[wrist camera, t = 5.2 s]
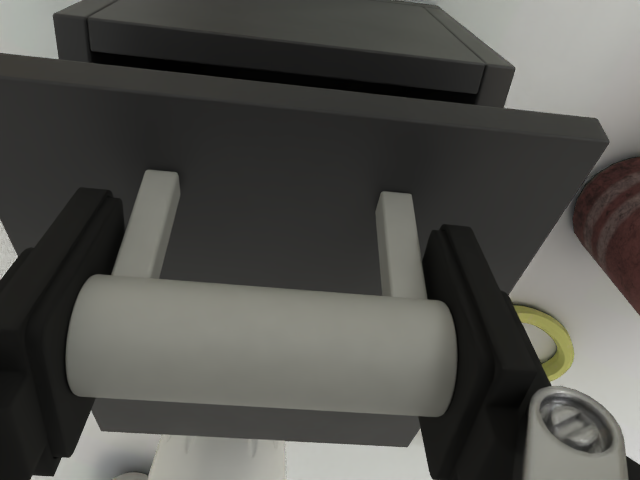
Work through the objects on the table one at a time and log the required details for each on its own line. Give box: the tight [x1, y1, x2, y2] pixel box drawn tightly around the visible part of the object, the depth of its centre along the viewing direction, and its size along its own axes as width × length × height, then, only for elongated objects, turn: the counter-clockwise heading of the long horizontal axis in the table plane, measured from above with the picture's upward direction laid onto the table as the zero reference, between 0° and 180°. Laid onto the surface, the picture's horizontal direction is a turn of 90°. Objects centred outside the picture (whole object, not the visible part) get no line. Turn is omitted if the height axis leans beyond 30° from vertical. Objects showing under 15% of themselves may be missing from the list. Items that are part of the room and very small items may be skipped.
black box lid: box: [0, 53, 609, 447], centre depth 15 cm, size 17×13×6 cm
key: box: [513, 305, 574, 382], centre depth 36 cm, size 7×12×2 cm, turn 164°
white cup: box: [147, 434, 286, 480], centre depth 32 cm, size 8×8×10 cm
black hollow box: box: [53, 0, 515, 108], centre depth 23 cm, size 16×13×10 cm
